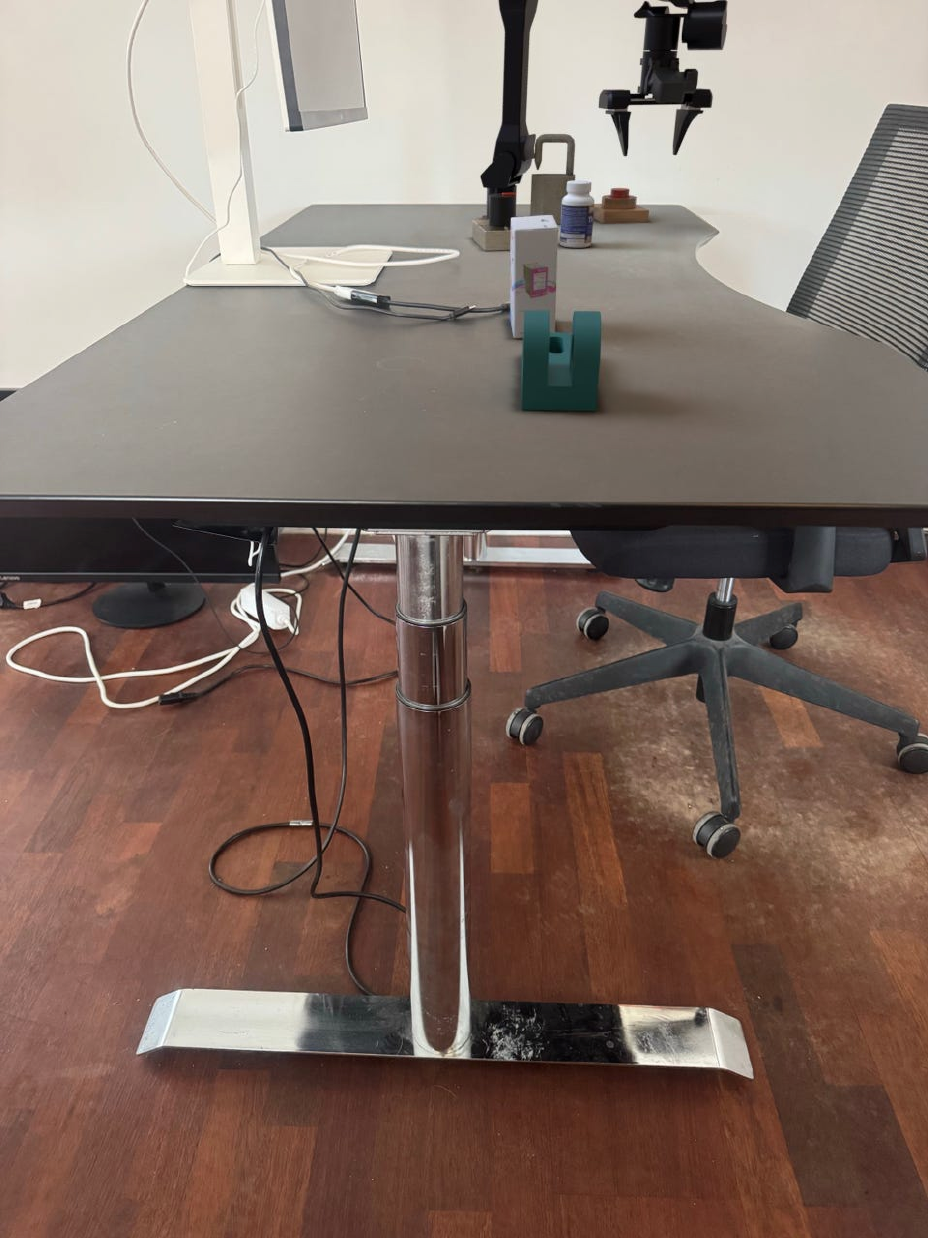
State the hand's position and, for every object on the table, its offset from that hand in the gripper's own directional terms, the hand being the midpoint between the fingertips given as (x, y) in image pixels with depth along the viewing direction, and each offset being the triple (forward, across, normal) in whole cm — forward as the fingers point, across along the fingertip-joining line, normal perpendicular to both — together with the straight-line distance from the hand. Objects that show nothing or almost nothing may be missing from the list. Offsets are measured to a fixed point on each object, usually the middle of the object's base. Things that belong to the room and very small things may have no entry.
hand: (650, 155), depth 155 cm
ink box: (+12, -36, -65) cm, 76 cm away
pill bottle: (+12, -17, -14) cm, 25 cm away
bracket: (+12, -38, -84) cm, 93 cm away
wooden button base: (+12, -1, +12) cm, 17 cm away
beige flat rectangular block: (+12, -28, -10) cm, 32 cm away
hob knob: (+9, -29, -10) cm, 32 cm away
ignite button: (+8, -1, +12) cm, 15 cm away
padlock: (+12, -15, +10) cm, 22 cm away
